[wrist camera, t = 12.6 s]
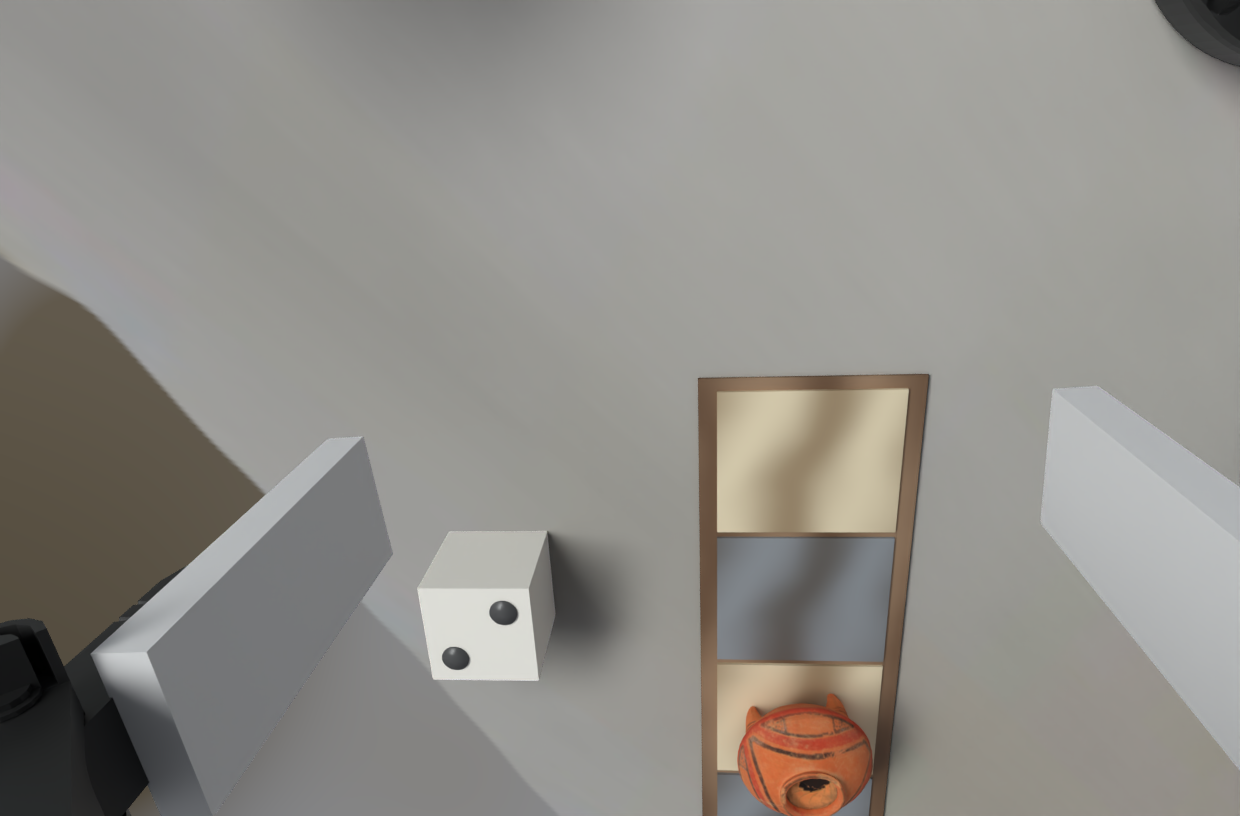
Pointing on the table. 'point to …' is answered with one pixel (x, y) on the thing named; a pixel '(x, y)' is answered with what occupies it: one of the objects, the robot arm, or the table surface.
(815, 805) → the pot
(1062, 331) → the table surface
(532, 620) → the die
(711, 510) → the board
